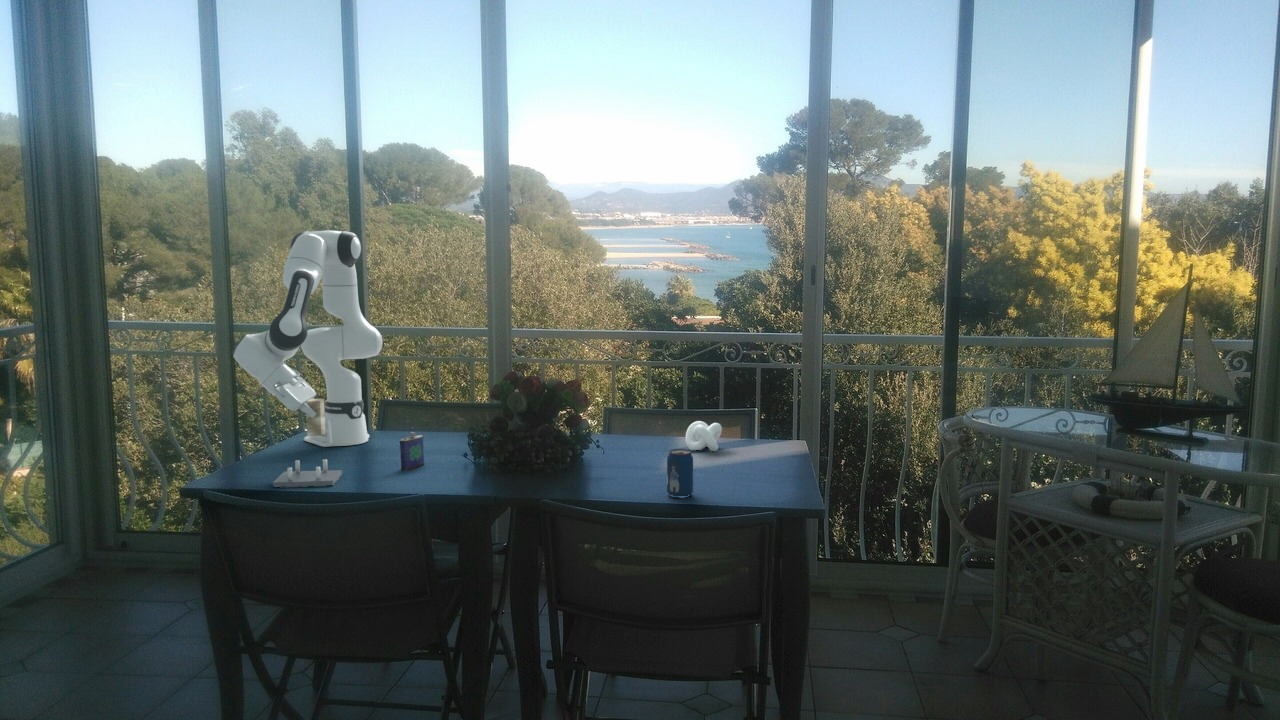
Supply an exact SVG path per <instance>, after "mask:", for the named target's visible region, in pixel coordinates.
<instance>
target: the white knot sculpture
mask: <svg viewBox="0 0 1280 720" xmlns="http://www.w3.org/2000/svg"><path fill="white" fill-rule="evenodd" d="M722 431H723V428H722V425H721V424H720V423H718V422H713V423H711V424H710V425H708V423H706V422H705V421H701V420H696V421H694V422H692V423H690V425H689V426H688V427H687V430H686V432H685V444H686V446H687V448H688V450H690V451H693V450H700V451H701V450H703V449H706V448H705V447H707V446H708V449H709V451H711V452H712V451H715V452H718V450H719V445H718V443H717V441H718V439H719V438H720V436H721V434H722Z"/></svg>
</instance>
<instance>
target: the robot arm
mask: <svg viewBox="0 0 1280 720" xmlns="http://www.w3.org/2000/svg"><path fill="white" fill-rule="evenodd" d="M361 253H362V243H361V240H360V238H359V236H358V235H357V234H356V233H354V232H351V231H347V230H342V231H340V230H330V229H329V230H328V229H327V230H326V229H325V230H314V231H313V230H312V231H308V230H307V231H306V230H305V231H301V232H298V233H296V234H295V235H294V236H293V237H292V239H291V241H290V250H289V253H288V256H287V258H286V262H285V265H284V268H283V274H282V283H283V285H284V287H285V288H286V289H287V294H286V298H285V300H284V303H283V308H282V310H281V312H279V314H277V315H276V317H274V319H273V320H272V321H271V323H270V326H269V329H268V330H266V331H263V332H259V333H253V334H251V333H247V334H245V335H244V336H242V338H241V339H240V340H239V341H238V342H237V344H236V345H235V347H234V349H233V350H232V351H233V352H232V355H233V358H234V360H235V361H236V362H237V363H238V365H240V367H241V368H242V369H243V370H244V371H245V372H246V373H248V374H249V375H250V376H251V377H254V378H255V379H257V381H258V382H259V383H260V385H261V386H262V387H263V388H265V389H266V390H267V391H268V392H269V393H270V394H271V395H272V396H273V397H276V398H277V399H278V400H279V402H280V403H282V404H283V405H284V406H285V408H287V409H288V410H289V411H291V412H292V413H293V412H296V411H297V410H300V411H301V412H302V413H304V414H308V415H309V416H310V417H312V418H313V417H315V416H316V415H317V412H316V411H315V410H314V409H312V408H310V407H309V406H308V405H307V404H306V401H308V400H310V399H315V397H316V396H317V392H316V390H314V388H313V387H312V386H311V385H310V384H309V383H308V382H307V381H306V380H305V379H304V378H303V377H301V376H300V375H301V374H300V373H301V372H299V371H298V370H296V369H293V368H292V367H290V366H289V365H287V364H286V361H288V360H290V359H291V358H292V357H294V356H295V355H296V353H297V351H298V350H299V349H300V347H301V351H302V353H303V354H304V356H305V357H306V358H307V359H308V360H311V362H313V363H314V364H315V365H316V366H318V368H319V369H320V371H321V372H322V375H323V377H324V381H325V387H326V388H325V389H326V397H327V398H326V401H324V411H325V433H324V434H323V435H318V436H307V435H306V436H304V437H303V441H304V442H308V443H310V444H314V445H317V446H320V447H322V448H323V447H324V448H326V447H329V448H330V447H342V446H343V447H345V446H354V445H361V444H365V443H367V442H369V438H370V434H369V433H368V430H367V429H368V427H367V422H366V421H367V420H366V415H365V413H364V410H365V409H364V405H365V404H364V399H363V397H362V394H363V393H362V378H361V376H360V375H359V374H358V373H357V372H355V371H353V370H351V369H348V368H346V367H345V366H343V365H342V363H341V361H343V360H360V359H361V360H364V359H368V358H372V357H376V356H378V355H379V353H380V352H381V350H382V348H383V341H384V340H383V336H382V334H381V332H380V331H379V330H378V329H377V328H376V327H374V326H373V325H371V324H370V323H369V322H368V321H367V319H366V318H365V317H364V315H363V313H362V311H361V308H360V302H359V292H358V277H357V269H356V263H357V262H358V260H359V259H360V258H361ZM321 280H322V281H321ZM320 282H321V284H322V288H321V289H322V306H323V309H324V310H325V311H326V312H327V313H328V314H330V315H331V316H334V317H336V318H339V319H340V320H342V321H343V324H344V325H343V326H323V327H322V326H321V327H316V328H312V329H308V325H307V321H306V314H307V310H308V306H309V302H310V299H311V296H312V294H313V293H315V291H316V290H317V288H318V286H319V284H320Z"/></svg>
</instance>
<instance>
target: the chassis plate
mask: <svg viewBox="0 0 1280 720" xmlns="http://www.w3.org/2000/svg"><path fill="white" fill-rule="evenodd" d="M294 463H295V468H294V469H295V470H294V471H293V467H291V466H290V467H287V471H283V473H281V474H279V476H278V477H277V478H276V479H275V480H273V481H272V487H273V486H279V487H280V486H282V487H280V488H306V487H307V488H309V487H308V486H314V487H327V486H326V485H334V486H335V484H336V483H337V482H338V481H339V479H340V478H341V477H342V476H343V470H342V469H340V470H339V469H337V470H336V469H335V470H334V469H332V470H331V469H330V470H329V469H328V459H322V470H321V466H316V467H315V470H301V462H300V460H298V459H296V460H295V461H294ZM341 475H342V476H341ZM340 476H341V477H340ZM339 477H340V478H339ZM337 480H338V481H337ZM336 481H337V482H336ZM335 482H336V483H335ZM334 483H335V484H334ZM283 486H285V487H283ZM299 486H300V487H299Z"/></svg>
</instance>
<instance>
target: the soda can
mask: <svg viewBox="0 0 1280 720" xmlns="http://www.w3.org/2000/svg"><path fill="white" fill-rule="evenodd" d="M668 451H669V453H668V455H667V456H666V493H667V494H668V495H669V494H670V495H673V496H688V495H691V496H692V494H693V492H694V456H693V454H692V450H691V449H684V448H676V449H670V450H668Z"/></svg>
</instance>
